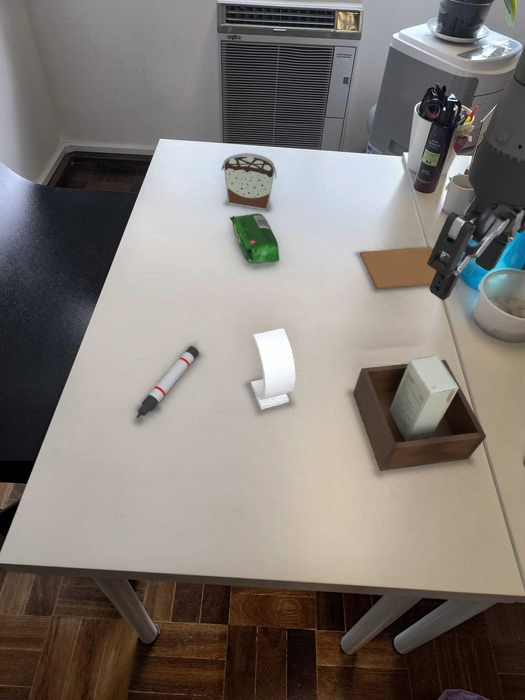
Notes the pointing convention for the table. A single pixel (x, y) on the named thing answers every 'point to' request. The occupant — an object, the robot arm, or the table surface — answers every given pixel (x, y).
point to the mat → (399, 267)
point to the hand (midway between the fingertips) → (461, 280)
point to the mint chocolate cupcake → (249, 180)
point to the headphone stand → (274, 368)
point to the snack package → (255, 238)
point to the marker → (168, 381)
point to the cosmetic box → (422, 397)
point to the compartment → (385, 438)
